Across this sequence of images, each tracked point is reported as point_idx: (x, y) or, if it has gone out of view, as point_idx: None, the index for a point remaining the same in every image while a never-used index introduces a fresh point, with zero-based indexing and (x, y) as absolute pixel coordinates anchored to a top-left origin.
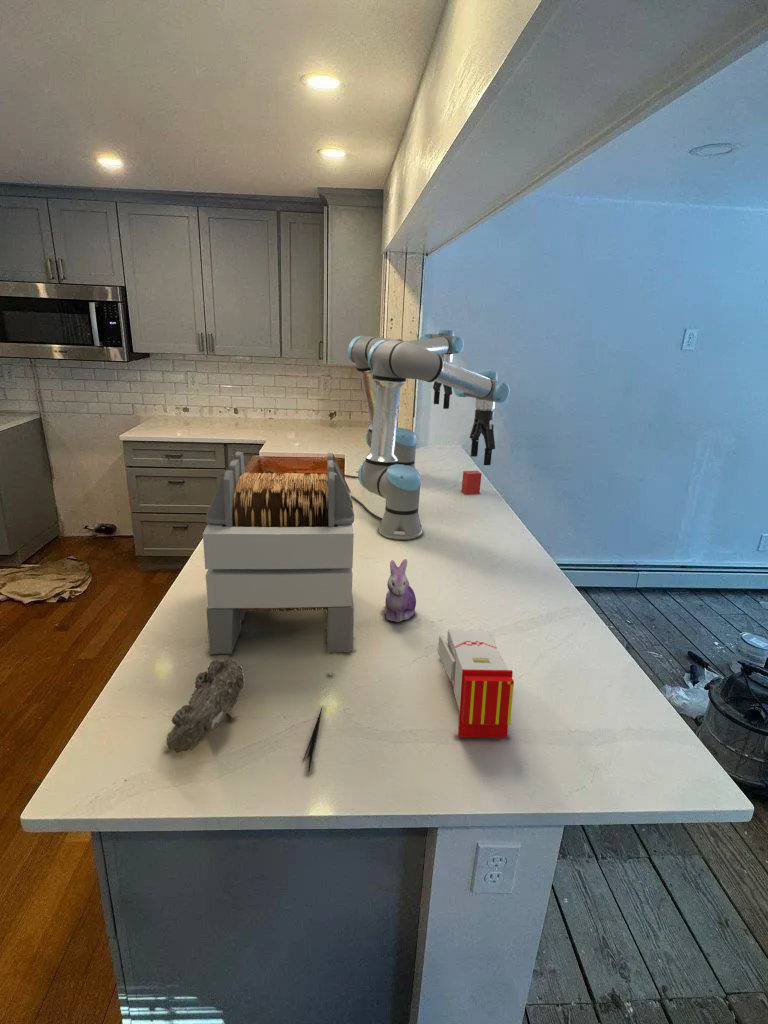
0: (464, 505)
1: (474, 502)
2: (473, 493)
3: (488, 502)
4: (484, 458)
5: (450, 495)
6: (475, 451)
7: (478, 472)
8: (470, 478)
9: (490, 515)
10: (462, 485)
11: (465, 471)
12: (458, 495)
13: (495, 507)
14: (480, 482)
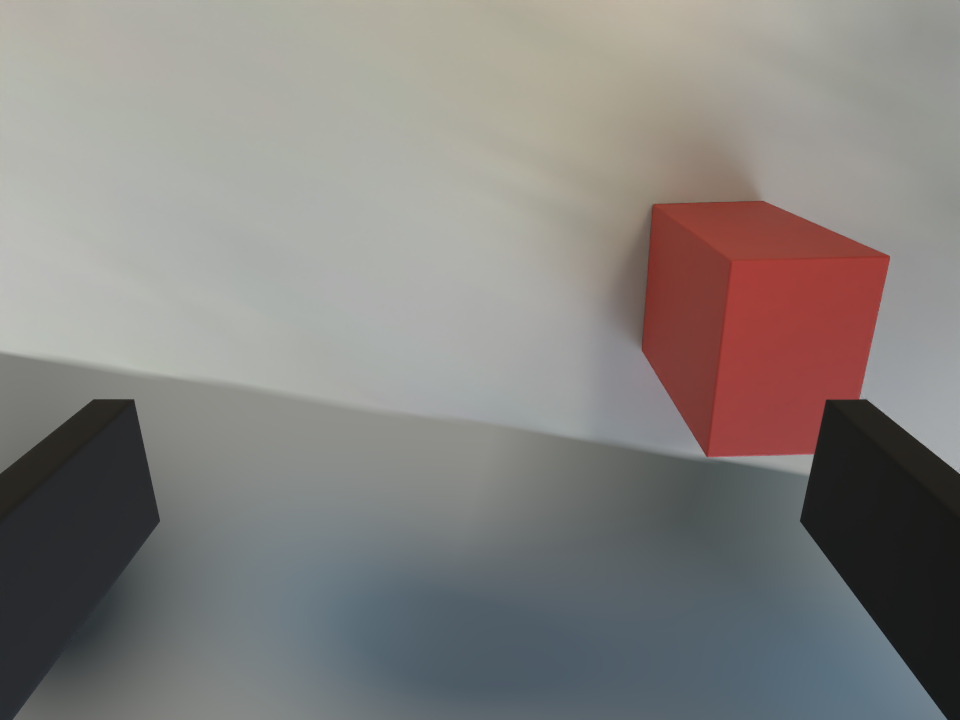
0: (307, 45)
1: (395, 197)
2: (647, 291)
3: (386, 332)
4: (20, 479)
5: (657, 11)
6: (872, 549)
7: (755, 434)
8: (701, 291)
9: (15, 201)
10: (777, 214)
11: (854, 278)
12: (637, 110)
13: (245, 338)
14: (672, 398)
